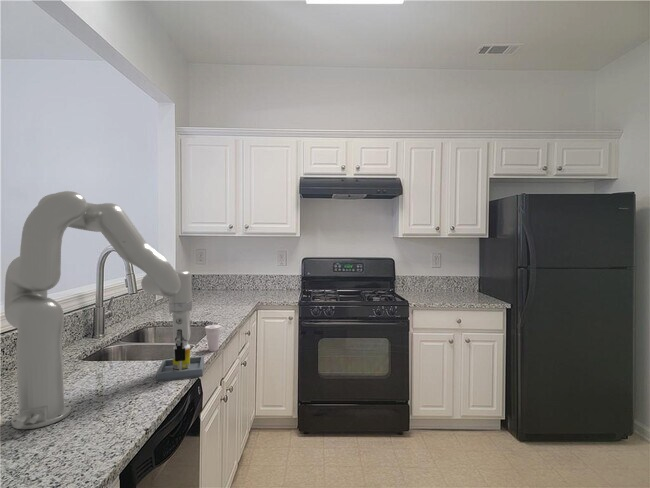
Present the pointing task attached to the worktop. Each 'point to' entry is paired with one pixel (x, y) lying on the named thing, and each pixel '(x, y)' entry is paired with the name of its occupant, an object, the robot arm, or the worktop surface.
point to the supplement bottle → (182, 364)
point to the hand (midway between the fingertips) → (181, 356)
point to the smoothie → (213, 336)
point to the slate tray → (169, 374)
